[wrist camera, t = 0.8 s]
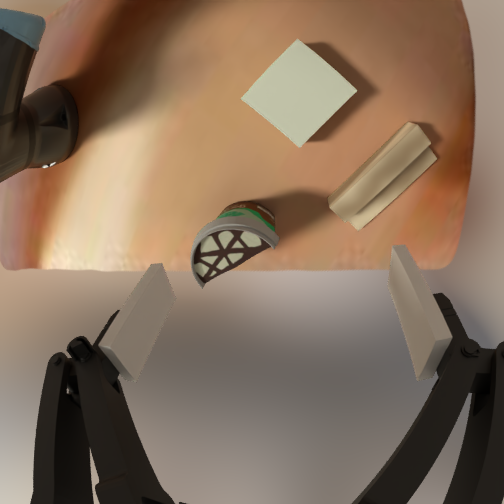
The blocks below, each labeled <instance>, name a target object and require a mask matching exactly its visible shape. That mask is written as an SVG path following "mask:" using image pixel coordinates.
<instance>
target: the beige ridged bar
mask: <svg viewBox="0 0 504 504" xmlns="http://www.w3.org/2000/svg"><path fill="white" fill-rule="evenodd" d="M430 144H431V142H430V141H429V139H428V138H427V136H426V135H425V134H424V132H423V131H422V130H421V129H420V127H419V126H418V125H417V124H413V123H410V122H407V123H406V124H404V125H403V126H402V127H401V128H400V129H399V130H398V131H397V132H396V133H395V134H394V135H393V136H392V137H391V138H390V139H389V140H388V141H387V142H386V143H385V144H384V145H383V146H382V147H381V148H380V149H379V150H377V151H376V152H375V153H374V154H373V155H372V156H371V157H370V158H369V159H368V160H367V161H366V162H365V163H364V164H363V165H362V166H361V167H360V168H359V169H358V170H356V171H355V172H354V173H353V174H352V175H351V176H350V177H349V178H348V179H347V180H346V181H345V182H344V183H343V184H342V185H341V186H340V187H339V188H337V189H336V190H335V191H334V192H333V193H332V194H331V195H330V196H329V197H328V198H327V200H328V203H329V207H330V209H331V210H332V211H333V212H334V213H336V214H337V215H338V216H339V217H340V218H341V219H342V220H343V221H344V222H345V223H346V222H347V221H349V222H350V223H351V224H352V225H353V226H354V227H355V228H356V229H357V230H358V231H359V230H360V229H361V228H363V227H364V226H365V225H366V224H367V223H368V222H369V221H371V220H372V219H373V218H374V217H375V216H376V215H377V214H379V213H380V212H381V211H382V210H383V209H384V208H385V207H386V206H387V205H389V204H390V203H391V202H392V201H393V200H394V199H395V198H396V197H397V196H398V195H400V194H401V193H402V192H403V191H404V190H405V189H406V188H407V187H408V186H409V185H410V184H411V183H412V182H414V181H415V180H416V179H417V178H418V177H419V176H420V175H421V174H422V173H423V172H424V171H425V170H426V169H427V168H428V167H429V166H430V165H431V164H432V163H433V162H434V161H436V160H437V158H436V156H435V155H434V153H433V152H432V151H431V149H430V148H429V145H430Z"/></svg>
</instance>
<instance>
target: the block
mask: <svg viewBox="0 0 504 504" xmlns="http://www.w3.org/2000/svg"><path fill="white" fill-rule="evenodd" d="M356 92H357V90H356V89H355V88H354V87H353V86H352V85H351V84H350V83H349V82H348V81H347V80H346V79H345V78H344V77H343V76H341V75H340V74H339V73H338V72H337V71H336V70H335V69H334V68H333V67H331V66H330V65H329V64H328V63H327V62H326V61H324V60H323V59H322V58H321V57H320V56H318V55H317V54H316V53H315V52H314V51H312V50H311V49H310V48H309V47H307V46H306V45H305V44H303V43H302V42H301V41H300V40H298V39H297V40H296V41H295V42H294V43H293V44H292V45H291V46H290V47H289V48H288V49H287V50H286V51H285V52H284V53H283V54H282V55H281V56H280V57H279V58H278V59H277V60H276V61H275V62H274V63H273V64H272V65H271V66H270V67H269V68H268V69H267V70H266V71H265V72H264V73H263V74H262V76H261V77H260V78H259V79H258V80H257V81H256V82H255V83H254V84H253V85H252V87H251V88H250V89H249V90H248V91H247V92H246V93H245V94H244V96H243V97H242V98H241V99H242V100H243V101H244V102H245V103H247V104H248V105H249V106H251V107H252V108H253V109H254V110H256V111H257V112H258V113H259V114H261V115H262V116H263V117H264V118H265V119H267V120H268V121H269V122H270V123H272V124H273V125H274V126H275V127H276V128H277V129H279V130H280V131H281V132H282V133H283V134H284V135H286V136H287V137H288V138H289V139H290V140H291V141H292V142H294V143H295V144H296V145H297V146H298V147H299V148H300V147H301V146H302V145H303V144H304V143H305V142H306V141H307V140H308V139H309V138H310V137H311V136H312V135H313V134H314V133H315V132H316V131H317V130H318V129H319V128H320V127H321V126H322V125H323V124H324V123H325V122H326V121H327V120H328V119H329V118H330V117H331V116H332V115H333V114H334V113H335V112H336V111H337V110H338V109H339V108H340V107H341V106H342V105H343V104H344V103H345V102H346V101H347V100H348V99H349V98H350V97H351V96H353V95H354V94H355V93H356Z"/></svg>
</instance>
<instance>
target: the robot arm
mask: <svg viewBox="0 0 504 504" xmlns="http://www.w3.org/2000/svg"><path fill="white" fill-rule="evenodd" d="M45 27H46V23H45V20H44V18H43V17H41V16H38V15H34V14H30V13H25V12H21V11H15V10H8V9H0V183H1V182H2V181H4V180H6V179H8V178H9V177H11V176H13V175H15V174H17V173H18V172H20V171H22V170H24V169H27V168H41V167H42V168H48V167H52V166H54V165H56V164H59V163H61V162H62V161H64V160H65V159H66V158H67V157H68V156H69V155H70V153H71V152H72V150H73V148H74V145H75V142H76V139H77V134H78V113H77V108H76V105H75V102H74V100H73V98H72V96H71V94H70V93H69V92H68V91H67V90H66V89H65V88H63V87H62V86H59V85H50V86H44V87H41V88H39V89H37V90H36V91H34V92H33V93H32V94H30V95H28V96H26V97H25V98H23V95H24V91H25V87H26V84H27V80H28V77H29V74H30V71H31V68H32V65H33V62H34V59H35V56H36V53H37V51H39V44H40V41H41V38H42V36H43V33H44V30H45ZM388 289H389V291H390V294H391V297H392V300H393V303H394V305H395V308H396V311H397V314H398V317H399V320H400V323H401V326H402V329H403V333H404V336H405V339H406V342H407V345H408V349H409V352H410V356H411V359H412V363H413V366H414V370H415V374H416V378H417V381H420V380H425V379H429V378H432V377H433V376H434V374H435V372H436V371H437V374H438V376H439V378H438V380H437V381H436V383H435V385H434V386H433V388H432V391H431V393H430V395H429V397H428V399H427V401H426V402H425V404H424V406H423V408H422V410H421V411H420V413H419V415H418V416H417V418H416V419H415V421H414V423H413V424H412V426H411V428H410V429H409V431H408V432H407V434H406V435H405V437H404V439H403V440H402V441H401V443H400V444H399V446H398V447H397V449H396V450H395V451H394V453H393V454H392V456H391V457H390V458H389V460H388V461H387V462H386V464H385V465H384V466H383V468H382V469H381V470H380V471H379V473H378V474H377V475H376V477H375V478H374V479H373V480H372V481H371V482H370V484H369V485H368V486H367V487H366V488H365V489H364V491H363V492H362V493H361V494H360V495H359V496H358V497H357V498H356V499H355V500H354V502H353V503H352V504H407V502H408V501H409V500H410V498H411V497H412V496H413V494H414V493H415V491H416V490H417V489H418V487H419V486H420V484H421V483H422V481H423V480H424V478H425V476H426V475H427V474H428V472H429V470H430V469H431V467H432V466H433V464H434V462H435V460H436V459H437V457H438V455H439V454H440V452H441V450H442V448H443V447H444V445H445V443H446V441H447V439H448V437H449V435H450V433H451V431H452V429H453V427H454V425H455V423H456V421H457V419H458V417H459V415H460V412H461V410H462V407H463V405H464V403H465V400H466V398H467V396H468V393H472V397H471V404H470V410H469V416H468V421H467V426H466V431H465V435H464V440H463V444H462V448H461V451H460V455H459V459H458V462H457V465H456V469H455V472H454V475H453V478H452V481H451V484H450V487H449V489H448V492H447V495H446V497H445V500H444V502H443V504H502V500H503V497H504V342H501V343H500V344H499V345H498V346H497V348H496V349H485V348H481V347H480V346H479V344H478V343H477V342H475V341H474V340H472V339H469V338H468V336H467V334H466V332H465V330H464V328H463V326H462V323H461V322H460V319H459V317H458V315H456V312H455V310H454V309H453V306H452V304H451V302H450V300H449V299H448V298H447V297H446V296H445V295H444V294H443V293H438V294H432V292H431V291H430V289H429V287H428V285H427V283H426V281H425V279H424V277H423V275H422V273H421V272H420V270H419V268H418V266H417V264H416V263H415V261H414V259H413V257H412V256H411V254H410V252H409V251H408V249H407V247H406V246H405V245H394V246H392V253H391V262H390V271H389V279H388ZM175 300H176V296H175V294H174V292H173V289H172V287H171V284H170V283H169V280H168V277H167V275H166V272H165V269H164V267H163V264H162V263H158V264H151V265H150V267H149V268H148V270H147V271H146V273H145V274H144V275H143V277H142V278H141V280H140V281H139V283H138V284H137V286H136V287H135V289H134V290H133V292H132V293H131V295H130V296H129V298H128V299H127V301H126V302H125V304H124V305H123V307H122V308H121V310H117V311H116V312H115V313H114V314H113V315H112V316H111V317H110V319H109V320H108V322H107V324H106V325H105V327H104V329H103V330H102V331H101V333H100V335H99V336H98V338H97V339H96V341H95V343H94V344H93V346H92V345H91V344H90V342H89V341H88V340H87V338H86V337H84V336H79V337H76V338H75V339H73V340H72V341H71V342H70V343H69V344H68V346H67V352H68V353H69V354H70V355H71V357H72V358H67V356H66V355H65V354H64V353H62V352H59V353H56V354H54V355H53V356H52V357H51V358H50V360H49V362H48V366H47V370H46V375H45V380H44V384H43V389H42V395H41V401H40V406H39V414H38V420H37V429H36V438H35V450H34V471H33V488H34V489H33V495H32V499H31V503H30V504H94V501H93V493H92V481H91V467H90V449H91V453H92V456H93V460H94V463H95V467H96V470H97V473H98V476H99V483H98V484H96V486H95V491H96V494H97V497H98V500H99V503H100V504H175V503H174V501H173V500H172V498H171V497H170V496H169V495H168V494H167V493H166V492H165V491H164V490H163V488H162V487H161V485H160V483H159V481H158V479H157V477H156V475H155V473H154V471H153V468H152V466H151V464H150V462H149V460H148V457H147V455H146V453H145V450H144V448H143V446H142V443H141V441H140V438H139V436H138V433H137V431H136V428H135V425H134V423H133V420H132V417H131V414H130V411H129V409H128V405H127V402H126V400H125V396H124V393H123V390H122V387H121V383H120V381H119V380H118V376H119V374H121V376H122V377H123V378H124V379H125V380H128V381H133V382H137V380H138V378H139V376H140V374H141V371H142V369H143V367H144V365H145V363H146V360H147V358H148V356H149V354H150V352H151V349H152V348H153V345H154V343H155V341H156V339H157V337H158V335H159V333H160V330H161V329H162V326H163V324H164V322H165V320H166V318H167V316H168V314H169V312H170V310H171V308H172V306H173V304H174V301H175ZM67 388H68V389H69V393H68V394H67ZM179 504H186V503H182V502H179Z"/></svg>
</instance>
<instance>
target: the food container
mask: <svg viewBox="0 0 504 504" xmlns="http://www.w3.org/2000/svg"><path fill="white" fill-rule="evenodd" d="M279 239H280V238H279V237H278V235H277V234H276V233H275V221H274V215H273V214H272V213H271V212H270V211H269V210H268V209H266V208H265V207H263V206H262V205H260V204H257V203H253V202H250V201H247V202H237V203H233V204H231V205H229V206H228V207H226V208H225V209H224V210H223V211H222V213H221V214H220V215H219V216H218V217H217V219H216V220H214V221H212V222H210V223H208V224H207V225H206V226H204V227H203V228H202V229H201V230H200V231H199V233H198V234H197V236H196V238H195V239H194V243H193V246H192V251H191V268H192V272H193V275H194V277H195V279H196V281H197V282H198V284H199V285H200V287H201V288H202V289H203V287H204V285H205V283H206V282H208V281H210V280H211V279H213V278H215V277H217V276H218V275H220V274H222V273H224V272H227V271H229V270H231V269H233V268H235V267H237V266H238V265H240V264H242V263H243V262H245V261H246V260H248V259H250V258H251V257H253V256H254V255H256V254H258V253H260V252H262V251H263V250H265V249H267V248H269V247H272V248H273V249H275V246H276V245H277V244H278V241H279Z"/></svg>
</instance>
